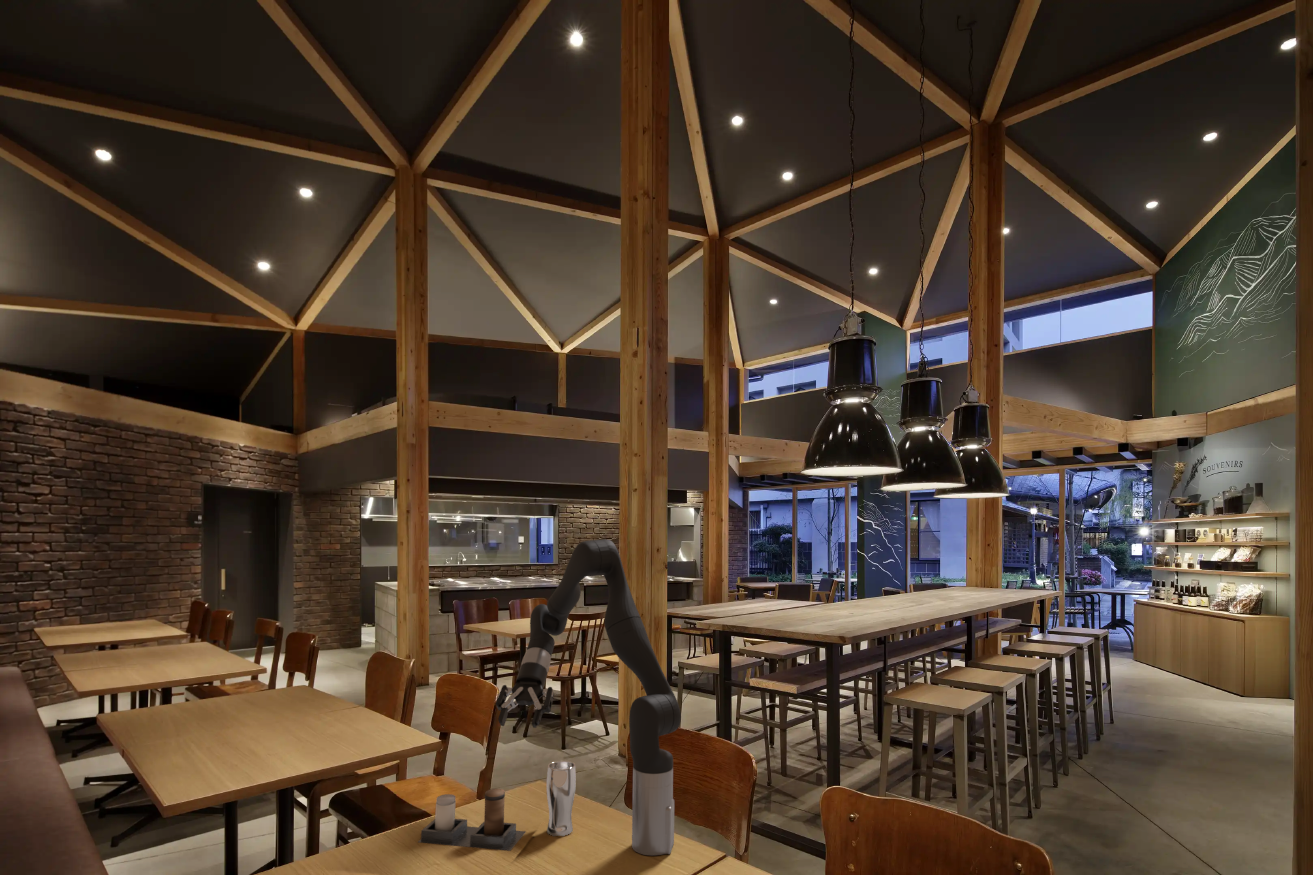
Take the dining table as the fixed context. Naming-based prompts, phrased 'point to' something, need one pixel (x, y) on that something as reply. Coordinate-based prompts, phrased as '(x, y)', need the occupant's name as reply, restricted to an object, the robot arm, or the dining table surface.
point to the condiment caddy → (472, 836)
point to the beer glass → (560, 797)
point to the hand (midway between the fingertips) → (517, 725)
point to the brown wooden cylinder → (494, 812)
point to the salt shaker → (445, 813)
